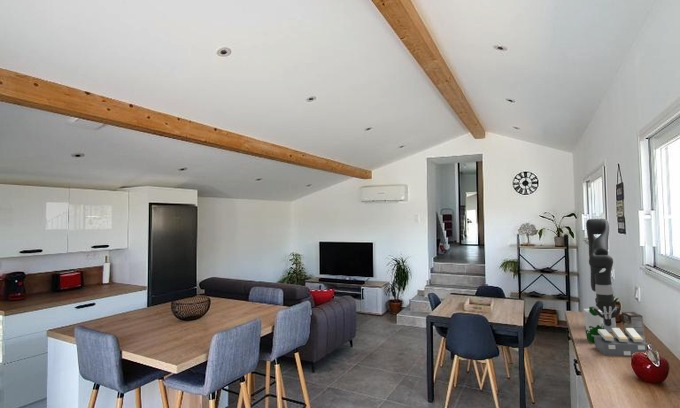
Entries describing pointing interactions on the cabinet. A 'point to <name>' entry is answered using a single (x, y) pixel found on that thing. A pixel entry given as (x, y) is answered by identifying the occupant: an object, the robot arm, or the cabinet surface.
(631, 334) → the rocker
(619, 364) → the cabinet surface
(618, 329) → the block
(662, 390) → the cabinet surface
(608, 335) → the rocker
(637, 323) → the coffee box
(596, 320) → the milk carton
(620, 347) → the switch unit
